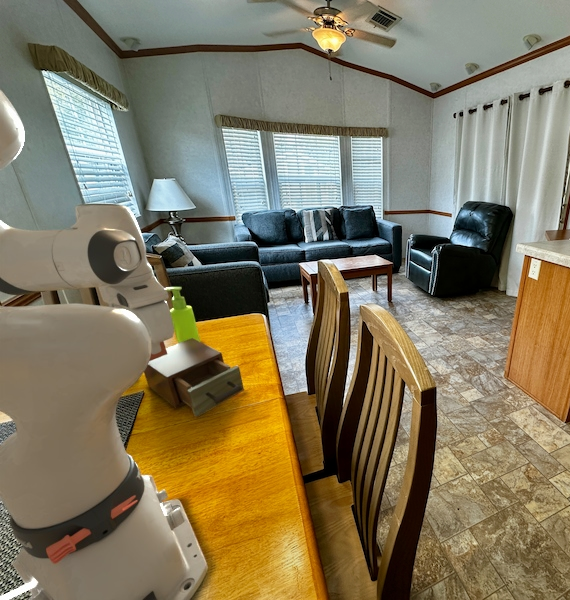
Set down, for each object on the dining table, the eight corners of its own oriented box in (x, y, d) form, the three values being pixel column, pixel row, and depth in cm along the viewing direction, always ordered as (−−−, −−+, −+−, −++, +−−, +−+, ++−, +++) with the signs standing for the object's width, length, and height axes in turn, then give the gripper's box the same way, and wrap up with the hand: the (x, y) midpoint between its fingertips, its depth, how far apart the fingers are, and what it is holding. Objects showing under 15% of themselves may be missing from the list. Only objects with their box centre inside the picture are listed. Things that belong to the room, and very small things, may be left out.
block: (167, 353, 71) (162, 336, 69) (144, 363, 67) (138, 344, 66) (158, 348, 73) (152, 330, 71) (135, 357, 70) (128, 339, 68)
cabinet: (228, 381, 87) (221, 352, 84) (176, 408, 77) (166, 377, 74) (199, 364, 95) (192, 337, 91) (149, 387, 85) (139, 358, 82)
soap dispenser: (181, 343, 107) (164, 285, 99) (204, 341, 108) (189, 284, 100) (172, 352, 101) (154, 291, 94) (197, 350, 102) (181, 290, 95)
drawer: (256, 397, 80) (251, 373, 77) (208, 426, 70) (201, 400, 68) (214, 373, 89) (209, 351, 86) (168, 396, 80) (160, 372, 77)
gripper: (89, 283, 67) (111, 342, 72) (132, 302, 57) (154, 370, 62) (126, 275, 72) (144, 331, 77) (171, 292, 62) (189, 355, 67)
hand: (149, 348), depth 70 cm, fingers closed on block, 4 cm apart
